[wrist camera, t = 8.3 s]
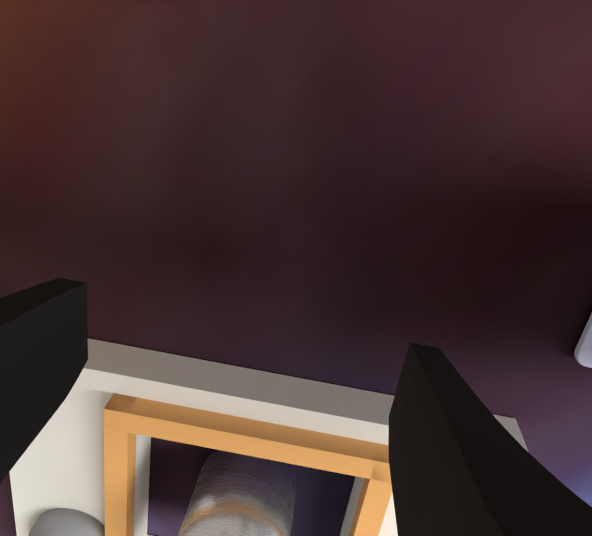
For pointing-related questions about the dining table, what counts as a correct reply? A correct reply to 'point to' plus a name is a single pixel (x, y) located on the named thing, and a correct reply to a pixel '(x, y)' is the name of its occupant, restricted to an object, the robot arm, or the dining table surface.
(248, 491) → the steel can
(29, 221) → the dining table surface
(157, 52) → the dining table surface
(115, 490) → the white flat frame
